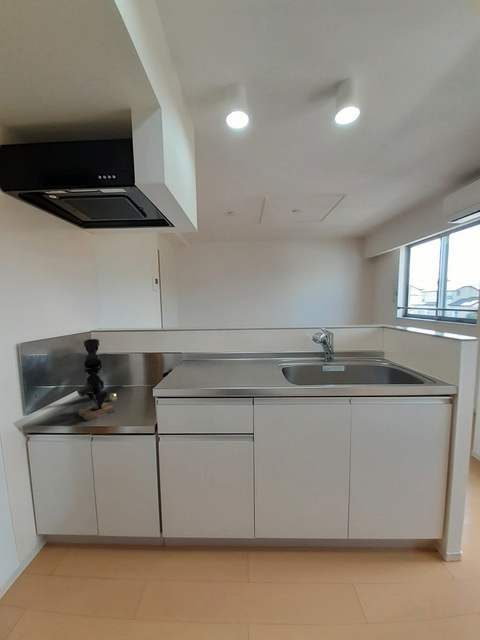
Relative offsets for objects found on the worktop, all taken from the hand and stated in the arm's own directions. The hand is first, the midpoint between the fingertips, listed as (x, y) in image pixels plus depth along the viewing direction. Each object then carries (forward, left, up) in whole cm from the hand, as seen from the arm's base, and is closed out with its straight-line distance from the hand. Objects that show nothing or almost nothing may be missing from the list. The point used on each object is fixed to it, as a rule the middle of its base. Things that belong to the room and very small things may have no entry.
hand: (96, 406), depth 149 cm
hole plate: (0, 0, -4) cm, 4 cm away
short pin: (-12, +15, -4) cm, 19 cm away
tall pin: (0, 0, -4) cm, 4 cm away
